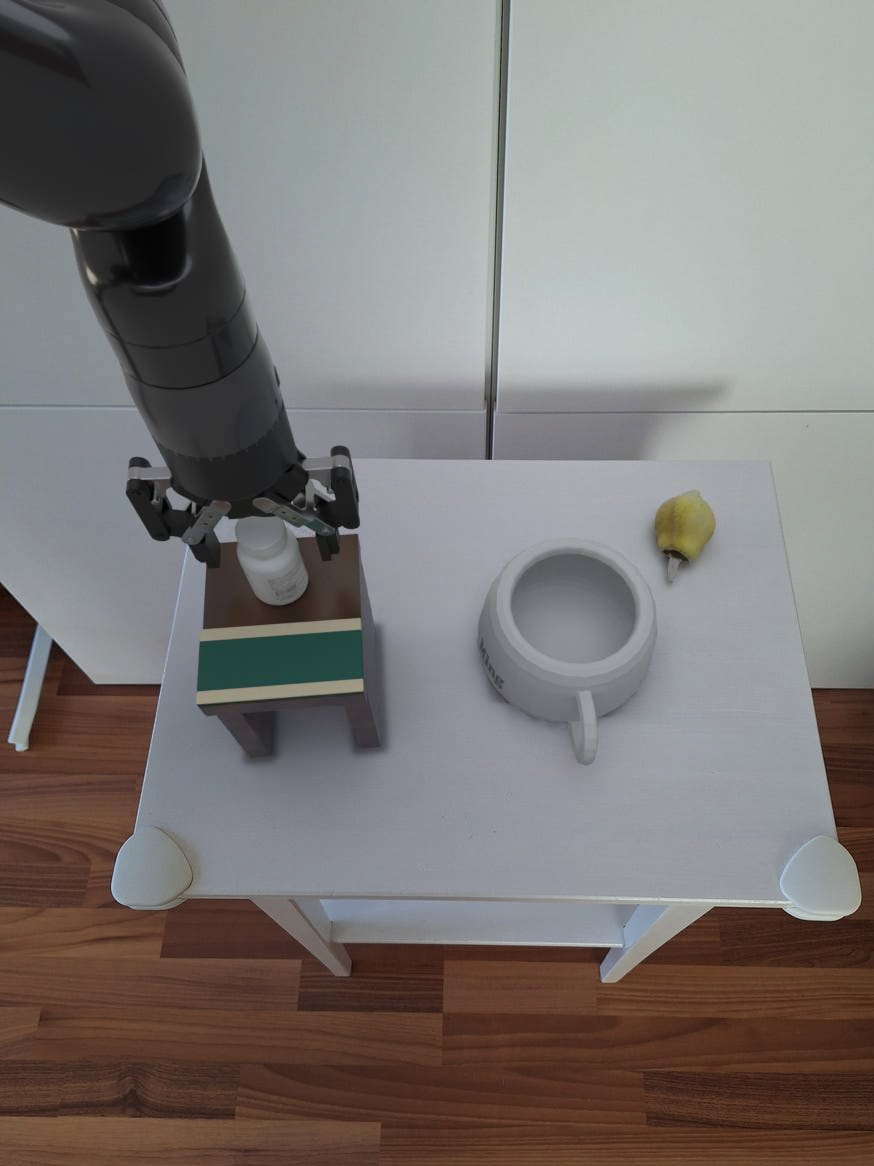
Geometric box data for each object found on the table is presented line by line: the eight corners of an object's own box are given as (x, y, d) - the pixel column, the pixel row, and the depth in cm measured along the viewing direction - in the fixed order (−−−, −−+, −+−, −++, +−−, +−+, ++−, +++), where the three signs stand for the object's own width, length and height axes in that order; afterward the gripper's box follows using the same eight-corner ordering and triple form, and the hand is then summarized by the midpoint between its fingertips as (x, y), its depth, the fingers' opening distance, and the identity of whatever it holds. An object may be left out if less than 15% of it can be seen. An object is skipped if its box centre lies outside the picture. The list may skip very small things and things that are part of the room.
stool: (249, 768, 72) (198, 707, 57) (252, 630, 78) (207, 543, 63) (381, 757, 73) (364, 694, 58) (375, 621, 79) (357, 533, 64)
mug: (469, 581, 81) (471, 527, 72) (629, 571, 82) (652, 516, 73) (489, 786, 72) (494, 754, 63) (669, 772, 73) (699, 738, 64)
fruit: (638, 581, 82) (649, 495, 85) (689, 596, 83) (698, 511, 86) (667, 563, 76) (678, 471, 79) (721, 579, 78) (730, 489, 81)
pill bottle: (318, 567, 63) (301, 511, 56) (294, 614, 61) (274, 562, 54) (267, 551, 63) (244, 493, 56) (242, 596, 61) (215, 543, 54)
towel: (198, 707, 57) (195, 704, 57) (202, 633, 60) (199, 629, 59) (364, 694, 58) (363, 690, 58) (361, 621, 61) (360, 617, 60)
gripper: (69, 462, 42) (169, 606, 56) (343, 446, 43) (371, 592, 57) (85, 354, 45) (176, 518, 60) (340, 342, 46) (367, 506, 61)
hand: (272, 554), depth 58 cm, fingers open, 7 cm apart
